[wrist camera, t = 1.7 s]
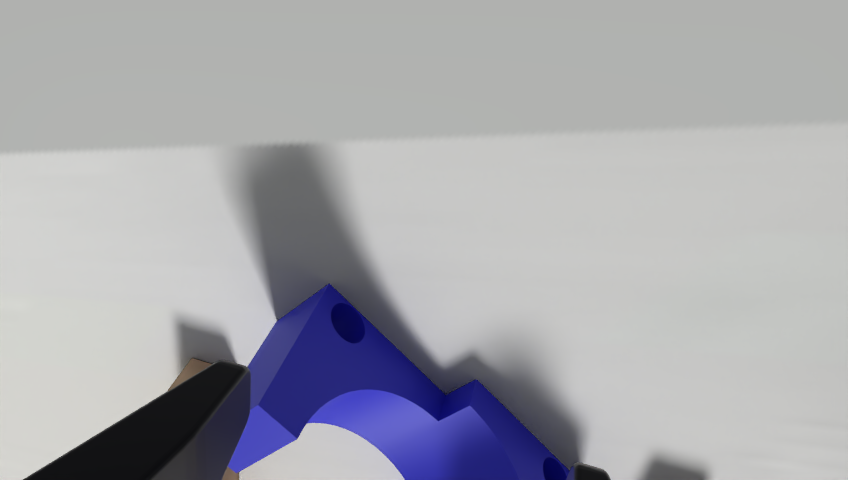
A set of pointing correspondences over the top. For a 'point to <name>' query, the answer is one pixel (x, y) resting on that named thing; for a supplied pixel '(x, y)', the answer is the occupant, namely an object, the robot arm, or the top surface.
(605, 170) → the top surface
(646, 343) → the top surface
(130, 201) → the top surface
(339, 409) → the cable clip
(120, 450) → the robot arm
